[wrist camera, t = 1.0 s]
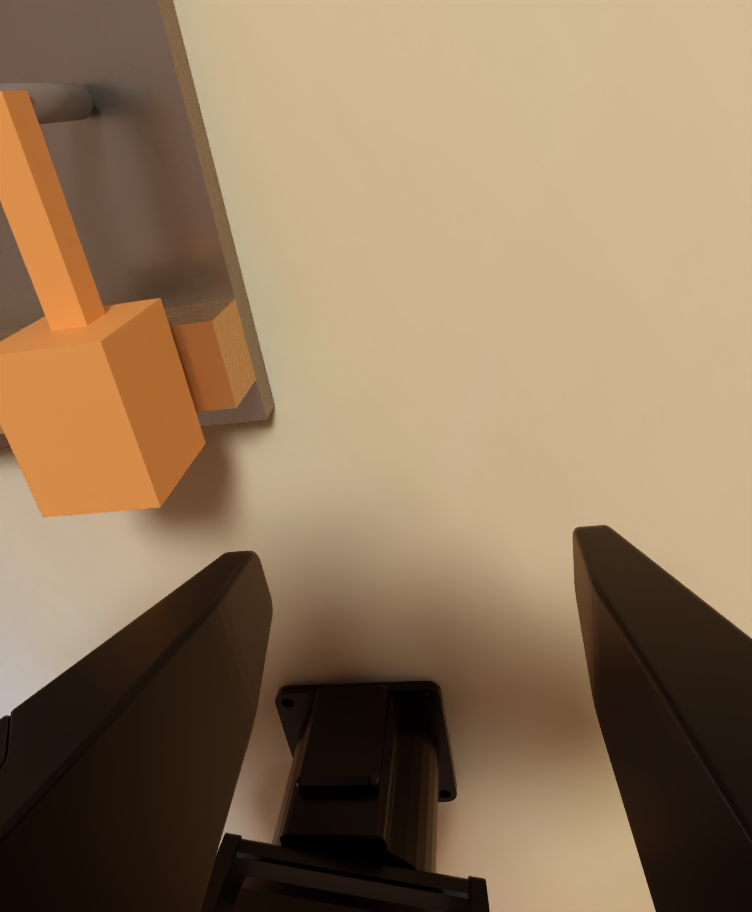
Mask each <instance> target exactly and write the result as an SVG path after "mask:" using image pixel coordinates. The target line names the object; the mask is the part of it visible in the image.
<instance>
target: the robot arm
mask: <svg viewBox="0 0 752 912" xmlns="http://www.w3.org/2000/svg"><path fill="white" fill-rule="evenodd" d="M573 559H574V583H575V593H576V600H577V607H578V613H579V619H580V625H581V631H582V637H583V643H584V649H585V655H586V661H587V667H588V673H589V679H590V685H591V691H592V696H593V701H594V706H595V709H596V713H597V717H598V721H599V724H600V728H601V731H602V735H603V738H604V741H605V744H606V748H607V751H608V754H609V758H610V761H611V764H612V768H613V771H614V774H615V778H616V781H617V784H618V788H619V791H620V794H621V797H622V801H623V804H624V807H625V811H626V814H627V817H628V821H629V824H630V827H631V831H632V834H633V837H634V841H635V844H636V847H637V851H638V854H639V857H640V860H641V864H642V867H643V870H644V874H645V877H646V880H647V884H648V887H649V890H650V894H651V897H652V900H653V904H654V907H655V910H656V912H752V638H750V637H749V636H748V635H747V634H745V633H744V632H743V631H741V630H740V629H739V628H738V627H736V626H735V625H734V624H733V623H731V622H730V621H729V620H727V619H726V618H725V617H724V616H722V615H721V614H720V613H719V612H717V611H716V610H715V609H714V608H712V607H711V606H710V605H708V604H707V603H706V602H705V601H703V600H702V599H701V598H700V597H698V596H697V595H696V594H694V593H693V592H692V591H691V590H689V589H688V588H687V587H686V586H684V585H683V584H682V583H680V582H679V581H678V580H677V579H675V578H674V577H673V576H672V575H670V574H669V573H668V572H666V571H665V570H664V569H663V568H661V567H660V566H659V565H658V564H656V563H655V562H654V561H652V560H651V559H650V558H649V557H647V556H646V555H645V554H644V553H642V552H641V551H640V550H638V549H637V548H636V547H635V546H633V545H632V544H631V543H630V542H628V541H627V540H626V539H624V538H623V537H622V536H621V535H619V534H618V533H617V532H616V531H614V530H613V529H612V528H610V527H609V526H606V525H598V526H585V527H577V528H575V529H574V531H573ZM272 611H273V608H272V599H271V595H270V592H269V588H268V585H267V582H266V578H265V575H264V571H263V568H262V565H261V561H260V559H259V557H258V555H257V554H256V553H255V552H253V551H238V552H227V553H225V554H223V555H222V556H220V557H219V558H217V559H216V560H215V561H213V562H212V563H211V564H209V565H208V566H207V567H205V568H204V569H203V570H201V571H200V572H199V573H197V574H196V575H195V576H193V577H192V578H190V579H189V580H188V581H186V582H185V583H184V584H182V585H181V586H180V587H178V588H177V589H176V590H174V591H173V592H172V593H170V594H169V595H168V596H166V597H165V598H163V599H162V600H161V601H159V602H158V603H157V604H155V605H154V606H153V607H151V608H150V609H149V610H147V611H146V612H145V613H143V614H142V615H141V616H139V617H138V618H136V619H135V620H134V621H132V622H131V623H130V624H128V625H127V626H126V627H124V628H123V629H122V630H120V631H119V632H118V633H116V634H115V635H114V636H112V637H111V638H109V639H108V640H107V641H105V642H104V643H103V644H101V645H100V646H99V647H97V648H96V649H95V650H93V651H92V652H91V653H89V654H88V655H87V656H85V657H84V658H82V659H81V660H80V661H78V662H77V663H76V664H74V665H73V666H72V667H70V668H69V669H68V670H66V671H65V672H64V673H62V674H61V675H59V676H58V677H57V678H55V679H54V680H53V681H51V682H50V683H49V684H47V685H46V686H45V687H43V688H42V689H41V690H39V691H38V692H37V693H35V694H34V695H32V696H31V697H30V698H28V699H27V700H26V701H24V702H23V703H22V704H20V705H19V706H18V707H16V708H15V709H14V710H12V712H11V716H8V715H6V716H4V717H2V718H1V719H0V912H490V911H489V903H488V894H487V886H486V880H485V879H483V878H478V877H472V876H469V877H468V879H466V878H460V877H454V876H449V875H443V874H437V873H435V872H436V842H437V813H438V802H449V801H452V800H454V799H455V798H456V796H457V784H456V777H455V771H454V765H453V759H452V753H451V747H450V741H449V735H448V729H447V723H446V717H445V711H444V705H443V699H442V693H441V689H440V687H439V686H438V685H437V684H436V683H434V682H430V681H415V682H387V683H359V684H331V685H303V686H285V687H282V688H280V689H279V691H278V693H277V696H276V699H275V704H276V707H277V710H278V713H279V716H280V719H281V723H282V726H283V729H284V732H285V735H286V738H287V741H288V744H289V748H290V751H291V754H292V757H293V761H292V765H291V769H290V773H289V777H288V781H287V785H286V789H285V793H284V797H283V801H282V805H281V809H280V813H279V817H278V821H277V825H276V829H275V833H274V837H273V841H272V844H269V843H263V842H257V841H252V840H246V839H242V836H241V835H235V834H230V833H225V835H224V838H223V840H222V843H221V845H220V847H219V844H220V840H221V837H222V833H223V830H224V826H225V823H226V819H227V816H228V812H229V809H230V805H231V802H232V798H233V795H234V791H235V788H236V784H237V781H238V777H239V774H240V770H241V767H242V763H243V760H244V756H245V753H246V749H247V746H248V742H249V739H250V735H251V731H252V727H253V724H254V720H255V715H256V710H257V705H258V700H259V693H260V687H261V681H262V675H263V669H264V663H265V657H266V651H267V645H268V639H269V633H270V627H271V621H272ZM425 694H430V695H425ZM286 698H287V699H286ZM289 699H291V700H289ZM218 847H219V850H218ZM217 851H218V852H217ZM216 854H217V855H216Z"/></svg>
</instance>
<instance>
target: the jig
mask: <svg viewBox="0 0 752 912" xmlns="http://www.w3.org/2000/svg"><path fill="white" fill-rule="evenodd" d="M0 83H77V84H80V85H82V86H83V87H84V88H85V89H86V90H87V91H88V92H89V94H90V96H91V99H92V104H93V107H92V112H91V114H90V115H89V116H88V117H87V118H86V119H84V120H76V121H67V122H57V123H47V124H39V126H40V128H41V131H42V134H43V137H44V140H45V143H46V146H47V148H48V151H49V154H50V157H51V160H52V163H53V166H54V168H55V171H56V174H57V177H58V180H59V183H60V185H61V188H62V191H63V194H64V197H65V200H66V203H67V205H68V208H69V211H70V214H71V217H72V220H73V223H74V225H75V228H76V231H77V234H78V237H79V240H80V242H81V245H82V248H83V251H84V254H85V257H86V260H87V262H88V265H89V268H90V271H91V274H92V277H93V279H94V282H95V285H96V288H97V291H98V294H99V297H100V299H101V302H102V305H103V306H107V305H114V304H121V303H128V302H135V301H142V300H150V299H157V298H161V300H162V304H163V307H164V310H165V313H166V317H167V320H168V323H169V326H170V329H171V333H172V336H173V339H174V342H175V346H176V349H177V352H178V355H179V358H180V362H181V365H182V368H183V371H184V375H185V378H186V381H187V384H188V387H189V391H190V394H191V397H192V400H193V404H194V407H195V410H196V413H197V417H198V420H199V423H200V426H201V427H202V426H212V425H221V424H231V423H240V422H250V421H259V420H267V418H268V417H269V415H270V413H271V411H272V410H273V408H274V402H273V398H272V394H271V390H270V386H269V382H268V378H267V374H266V370H265V366H264V362H263V358H262V354H261V350H260V346H259V342H258V338H257V334H256V330H255V326H254V322H253V318H252V314H251V310H250V306H249V302H248V298H247V294H246V290H245V286H244V282H243V279H242V275H241V271H240V267H239V263H238V259H237V255H236V251H235V247H234V243H233V239H232V235H231V231H230V227H229V223H228V219H227V215H226V211H225V207H224V203H223V199H222V195H221V191H220V187H219V183H218V179H217V175H216V171H215V167H214V163H213V159H212V155H211V151H210V147H209V144H208V140H207V136H206V132H205V128H204V124H203V120H202V116H201V112H200V108H199V104H198V100H197V96H196V92H195V88H194V84H193V80H192V76H191V72H190V68H189V64H188V60H187V56H186V52H185V48H184V44H183V40H182V36H181V32H180V28H179V24H178V20H177V16H176V12H175V8H174V5H173V1H172V0H0ZM43 317H45V314H44V311H43V308H42V306H41V303H40V301H39V298H38V296H37V293H36V291H35V288H34V286H33V283H32V280H31V278H30V275H29V273H28V270H27V268H26V265H25V263H24V260H23V258H22V255H21V252H20V250H19V247H18V245H17V242H16V240H15V237H14V235H13V232H12V229H11V227H10V224H9V222H8V219H7V217H6V214H5V212H4V209H3V207H2V204H1V201H0V341H2V340H4V339H6V338H8V337H9V336H11V335H13V334H15V333H16V332H18V331H20V330H22V329H23V328H25V327H27V326H29V325H30V324H32V323H34V322H36V321H38V320H39V319H41V318H43ZM4 447H11V446H10V444H9V442H8V440H7V438H6V435H5V433H4V431H3V429H2V427H1V425H0V448H4Z"/></svg>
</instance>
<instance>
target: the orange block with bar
mask: <svg viewBox="0 0 752 912" xmlns="http://www.w3.org/2000/svg"><path fill="white" fill-rule="evenodd" d="M92 107H93V104H92V99H91V96H90V94H89V92H88V91H87V90H86V89H85V88H84V87H83V86H82V85H80V84H77V83H0V201H1V204H2V207H3V209H4V212H5V214H6V217H7V219H8V222H9V224H10V227H11V229H12V232H13V235H14V237H15V240H16V242H17V245H18V247H19V250H20V252H21V255H22V258H23V260H24V263H25V265H26V268H27V270H28V273H29V275H30V278H31V280H32V283H33V286H34V288H35V291H36V293H37V296H38V298H39V301H40V303H41V306H42V308H43V311H44V314H45V317H43V318H41V319H39V320H38V321H36V322H34V323H32V324H30V325H29V326H27V327H25V328H23V329H22V330H20V331H18V332H16V333H15V334H13V335H11V336H9V337H8V338H6V339H4V340H2V341H0V425H1V427H2V429H3V431H4V433H5V435H6V438H7V440H8V442H9V444H10V446H11V449H12V451H13V453H14V455H15V457H16V460H17V462H18V464H19V466H20V468H21V471H22V473H23V475H24V477H25V479H26V481H27V484H28V486H29V488H30V490H31V492H32V495H33V497H34V499H35V501H36V503H37V506H38V508H39V510H40V512H41V514H42V516H43V517H54V516H66V515H77V514H89V513H101V512H113V511H124V510H136V509H148V508H160V507H161V506H162V505H163V503H164V502H165V500H166V499H167V498H168V496H169V495H170V493H171V492H172V490H173V489H174V488H175V486H176V485H177V483H178V482H179V481H180V479H181V478H182V476H183V475H184V474H185V472H186V471H187V469H188V468H189V466H190V465H191V464H192V462H193V461H194V459H195V458H196V457H197V455H198V454H199V452H200V451H201V449H202V448H203V447H204V445H205V444H206V442H205V439H204V436H203V433H202V429H201V426H200V423H199V420H198V417H197V413H196V410H195V407H194V404H193V400H192V397H191V394H190V391H189V387H188V384H187V381H186V378H185V375H184V371H183V368H182V365H181V362H180V358H179V355H178V352H177V349H176V346H175V342H174V339H173V336H172V333H171V329H170V326H169V323H168V320H167V317H166V313H165V310H164V307H163V304H162V300H161V298H157V299H150V300H142V301H135V302H128V303H121V304H114V305H107V306H103V305H102V302H101V299H100V297H99V294H98V291H97V288H96V285H95V282H94V279H93V277H92V274H91V271H90V268H89V265H88V262H87V260H86V257H85V254H84V251H83V248H82V245H81V242H80V240H79V237H78V234H77V231H76V228H75V225H74V223H73V220H72V217H71V214H70V211H69V208H68V205H67V203H66V200H65V197H64V194H63V191H62V188H61V185H60V183H59V180H58V177H57V174H56V171H55V168H54V166H53V163H52V160H51V157H50V154H49V151H48V148H47V146H46V143H45V140H44V137H43V134H42V131H41V128H40V126H39V124H47V123H57V122H67V121H76V120H84V119H86V118H87V117H88V116H89V115H90V114H91V112H92Z"/></svg>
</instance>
